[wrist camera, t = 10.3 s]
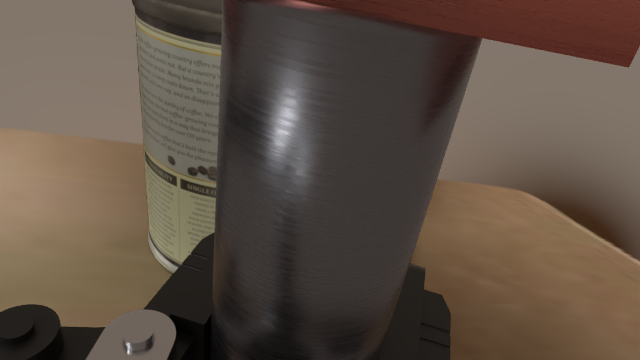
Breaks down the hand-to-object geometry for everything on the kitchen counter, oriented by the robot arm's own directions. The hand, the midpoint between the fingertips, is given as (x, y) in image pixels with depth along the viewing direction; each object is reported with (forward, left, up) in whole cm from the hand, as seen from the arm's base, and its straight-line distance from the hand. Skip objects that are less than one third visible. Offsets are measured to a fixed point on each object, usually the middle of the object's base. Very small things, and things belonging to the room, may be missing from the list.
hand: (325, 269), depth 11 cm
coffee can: (-14, +4, -10) cm, 18 cm away
